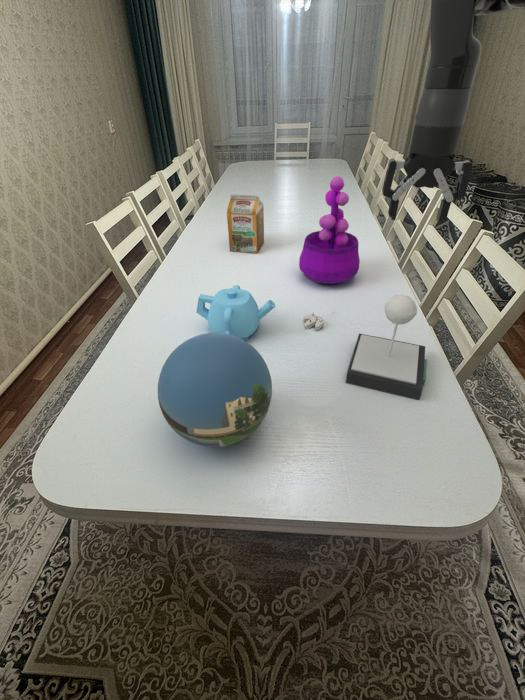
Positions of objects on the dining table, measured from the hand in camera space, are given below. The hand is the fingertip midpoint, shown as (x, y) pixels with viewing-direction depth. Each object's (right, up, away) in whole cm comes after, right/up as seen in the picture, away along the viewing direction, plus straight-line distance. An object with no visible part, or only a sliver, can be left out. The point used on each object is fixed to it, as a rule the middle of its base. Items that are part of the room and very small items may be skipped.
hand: (415, 220), depth 70 cm
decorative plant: (-9, -2, +47) cm, 47 cm away
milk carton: (-36, +14, +67) cm, 77 cm away
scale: (-2, -30, +11) cm, 32 cm away
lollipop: (-2, -27, +9) cm, 28 cm away
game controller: (-14, -18, +27) cm, 35 cm away
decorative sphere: (-38, -40, -1) cm, 55 cm away
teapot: (-36, -20, +24) cm, 48 cm away
